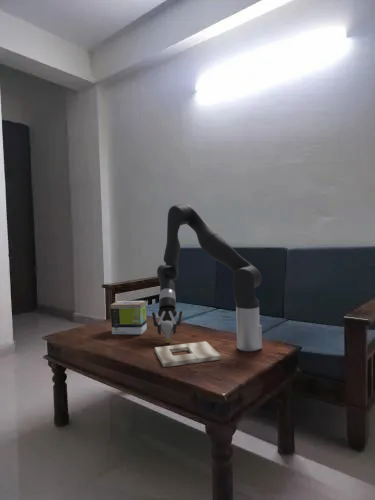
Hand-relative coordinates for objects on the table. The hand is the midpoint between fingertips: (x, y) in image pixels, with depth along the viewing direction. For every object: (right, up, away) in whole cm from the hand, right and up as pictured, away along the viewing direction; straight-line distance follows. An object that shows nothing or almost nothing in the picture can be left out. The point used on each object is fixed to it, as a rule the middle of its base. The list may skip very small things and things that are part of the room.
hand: (167, 333), depth 154 cm
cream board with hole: (+8, -5, -13) cm, 17 cm away
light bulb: (0, -5, +2) cm, 5 cm away
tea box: (-20, -4, +22) cm, 29 cm away
